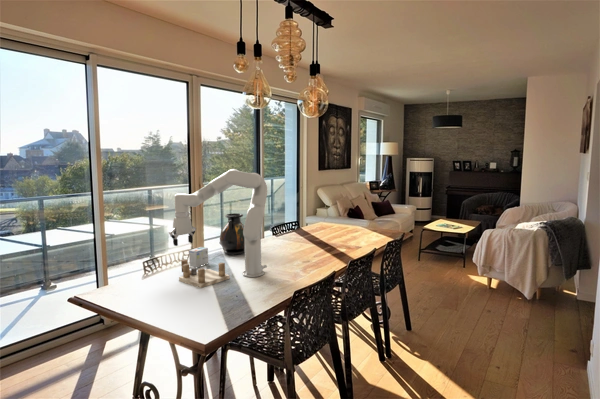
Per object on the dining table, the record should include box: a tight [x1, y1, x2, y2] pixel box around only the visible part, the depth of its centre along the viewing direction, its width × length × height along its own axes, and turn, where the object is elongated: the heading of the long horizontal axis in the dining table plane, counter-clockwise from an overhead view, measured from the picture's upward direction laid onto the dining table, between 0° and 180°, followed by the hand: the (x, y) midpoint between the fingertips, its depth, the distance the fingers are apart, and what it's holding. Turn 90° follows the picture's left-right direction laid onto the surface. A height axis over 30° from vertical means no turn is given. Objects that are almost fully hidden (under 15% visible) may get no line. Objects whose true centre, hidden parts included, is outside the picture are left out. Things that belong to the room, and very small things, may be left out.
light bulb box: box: [188, 246, 209, 268], centre depth 248 cm, size 11×7×11 cm, turn 149°
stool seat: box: [178, 262, 231, 289], centre depth 219 cm, size 20×20×9 cm
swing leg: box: [180, 259, 198, 275], centre depth 225 cm, size 12×4×7 cm, turn 51°
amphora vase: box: [219, 212, 245, 256], centre depth 277 cm, size 22×22×28 cm
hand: (183, 244), depth 223 cm, fingers open, 9 cm apart
